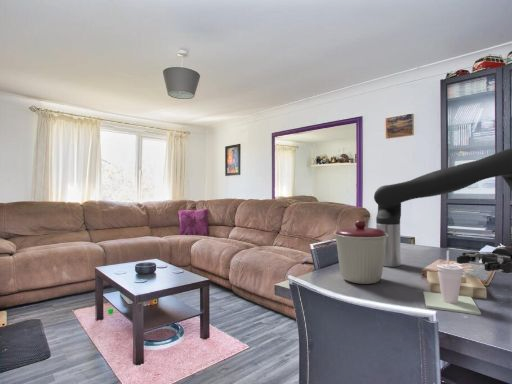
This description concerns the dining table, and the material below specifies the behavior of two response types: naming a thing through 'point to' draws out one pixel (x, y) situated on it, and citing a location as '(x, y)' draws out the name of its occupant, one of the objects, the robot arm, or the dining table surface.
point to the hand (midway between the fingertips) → (471, 263)
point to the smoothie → (449, 281)
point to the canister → (361, 253)
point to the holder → (468, 285)
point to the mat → (451, 304)
